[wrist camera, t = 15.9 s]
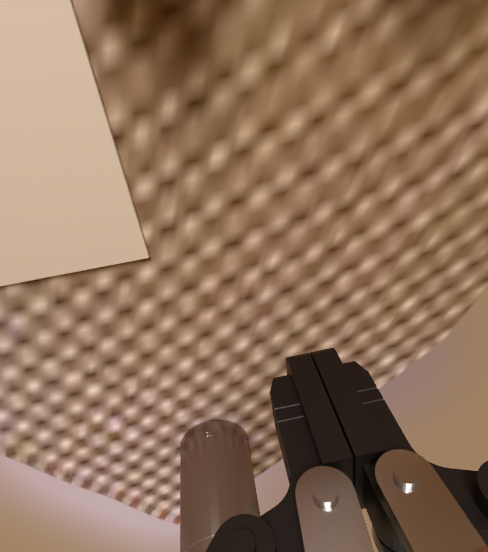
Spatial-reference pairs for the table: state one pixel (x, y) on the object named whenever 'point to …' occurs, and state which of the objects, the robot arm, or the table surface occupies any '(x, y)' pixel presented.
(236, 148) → the table surface
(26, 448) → the table surface
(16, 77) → the card
